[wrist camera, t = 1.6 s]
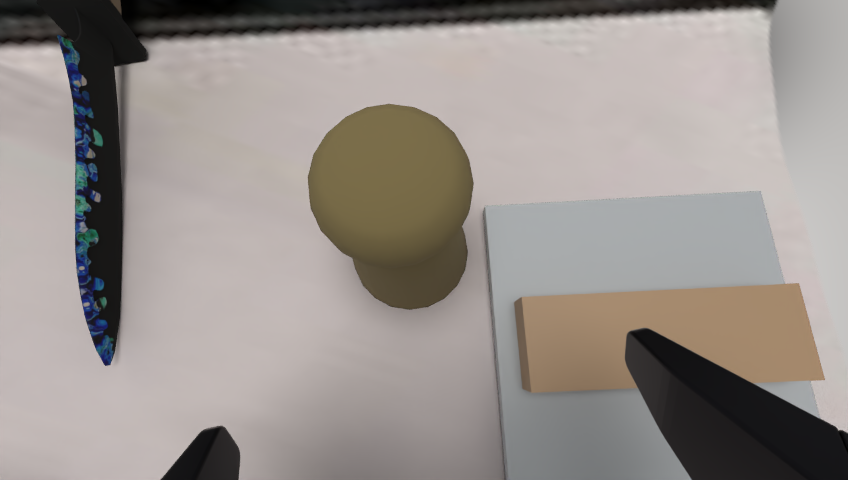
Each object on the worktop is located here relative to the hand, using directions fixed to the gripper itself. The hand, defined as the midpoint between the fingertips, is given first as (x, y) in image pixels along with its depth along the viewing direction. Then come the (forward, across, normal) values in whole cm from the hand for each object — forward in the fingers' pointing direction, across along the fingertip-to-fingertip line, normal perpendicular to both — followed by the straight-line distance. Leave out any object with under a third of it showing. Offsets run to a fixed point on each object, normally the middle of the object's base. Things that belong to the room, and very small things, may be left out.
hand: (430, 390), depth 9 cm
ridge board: (+8, -10, +9) cm, 16 cm away
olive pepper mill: (+13, 0, +4) cm, 14 cm away
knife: (+22, +15, -4) cm, 27 cm away
